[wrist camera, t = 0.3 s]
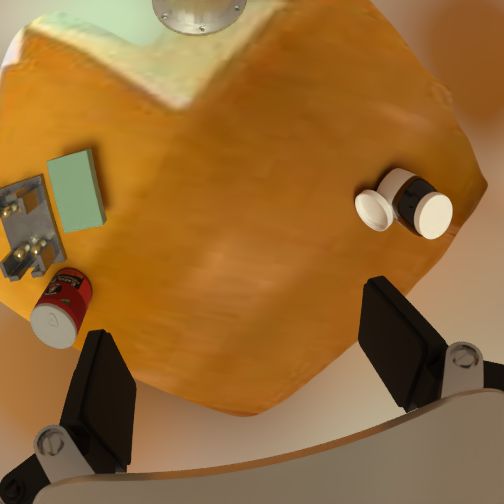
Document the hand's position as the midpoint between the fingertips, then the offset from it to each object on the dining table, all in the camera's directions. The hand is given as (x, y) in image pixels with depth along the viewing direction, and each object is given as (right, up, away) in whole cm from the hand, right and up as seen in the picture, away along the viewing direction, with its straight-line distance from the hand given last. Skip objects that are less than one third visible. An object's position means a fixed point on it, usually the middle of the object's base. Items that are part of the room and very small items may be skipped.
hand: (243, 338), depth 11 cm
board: (-23, +11, +26) cm, 36 cm away
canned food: (-30, -3, +36) cm, 47 cm away
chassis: (-35, +7, +29) cm, 46 cm away
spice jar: (+23, +12, +39) cm, 46 cm away
